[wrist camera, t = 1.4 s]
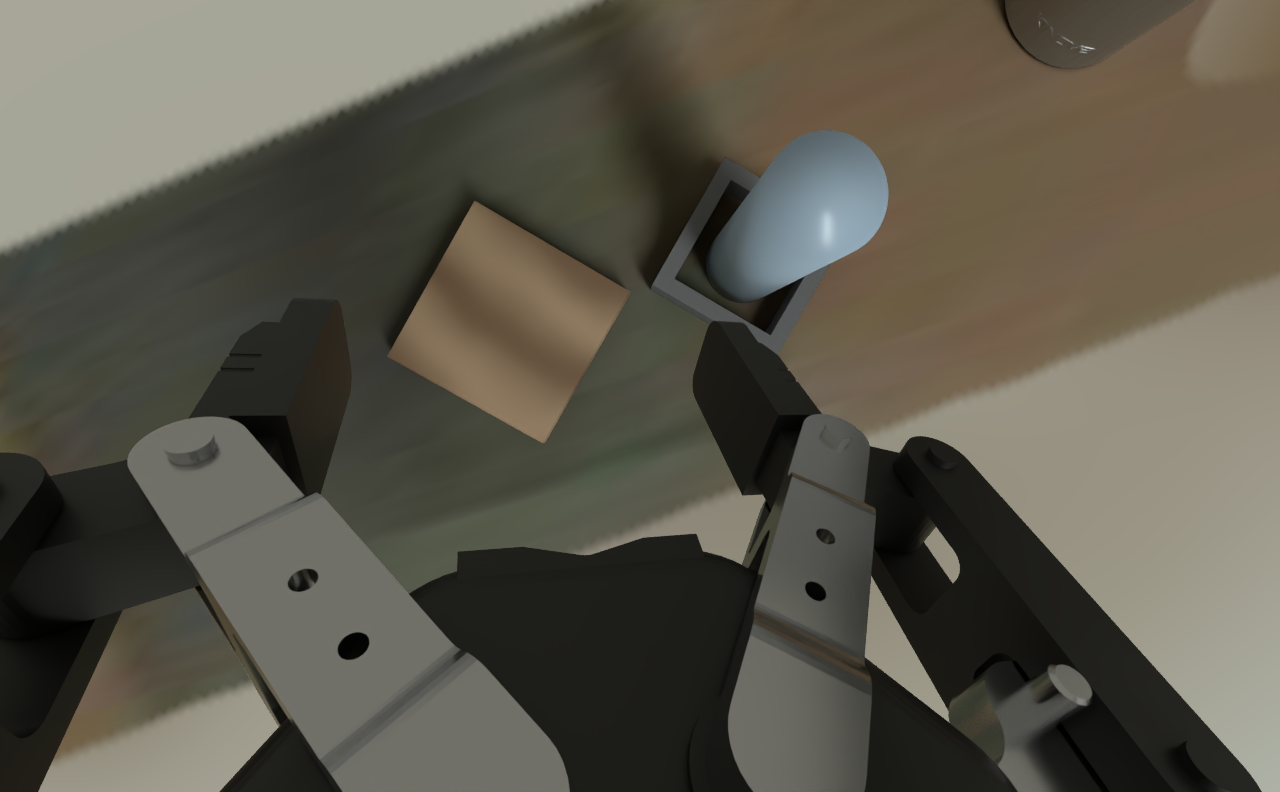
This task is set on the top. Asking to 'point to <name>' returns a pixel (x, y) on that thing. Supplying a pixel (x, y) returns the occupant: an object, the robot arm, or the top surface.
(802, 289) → the square grey frame
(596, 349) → the walnut board
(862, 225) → the canister
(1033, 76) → the top surface
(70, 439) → the top surface
